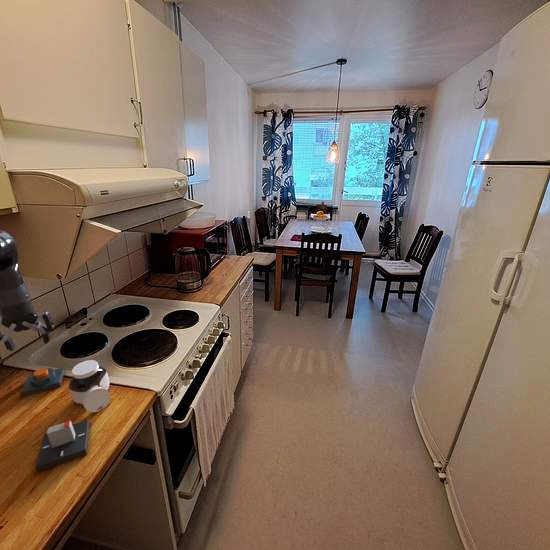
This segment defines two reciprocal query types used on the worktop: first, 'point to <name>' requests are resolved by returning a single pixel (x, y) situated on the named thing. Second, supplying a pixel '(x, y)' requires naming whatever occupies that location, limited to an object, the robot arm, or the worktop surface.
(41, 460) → the fryer panel
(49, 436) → the knob
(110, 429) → the worktop surface
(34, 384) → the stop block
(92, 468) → the worktop surface
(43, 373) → the stop button
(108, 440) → the worktop surface
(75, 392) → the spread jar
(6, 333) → the robot arm
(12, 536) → the worktop surface
